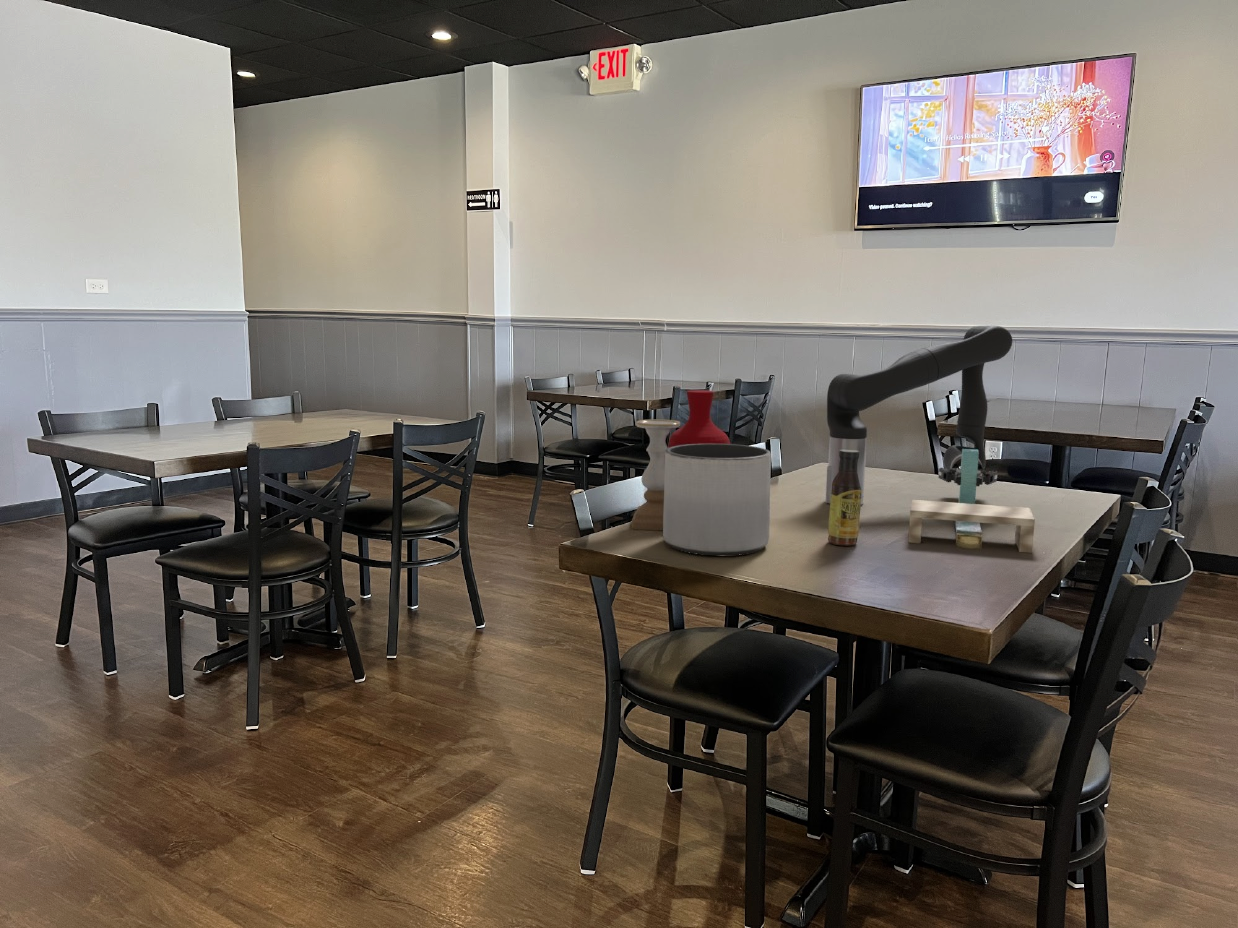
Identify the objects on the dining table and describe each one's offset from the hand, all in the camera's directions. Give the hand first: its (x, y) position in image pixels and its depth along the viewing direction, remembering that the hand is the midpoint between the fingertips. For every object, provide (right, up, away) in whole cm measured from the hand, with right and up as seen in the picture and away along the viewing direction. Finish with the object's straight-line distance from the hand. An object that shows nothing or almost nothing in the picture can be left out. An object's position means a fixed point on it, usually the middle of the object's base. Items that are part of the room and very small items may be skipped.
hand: (968, 481), depth 206 cm
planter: (-62, -13, -21) cm, 66 cm away
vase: (-63, -8, +8) cm, 64 cm away
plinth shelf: (-7, -12, -17) cm, 22 cm away
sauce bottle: (-34, -13, -19) cm, 41 cm away
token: (-8, -13, -21) cm, 26 cm away
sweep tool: (-3, -10, -5) cm, 12 cm away
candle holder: (-73, -10, -3) cm, 74 cm away
